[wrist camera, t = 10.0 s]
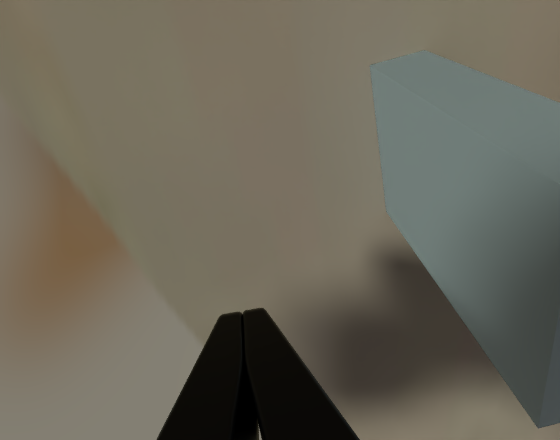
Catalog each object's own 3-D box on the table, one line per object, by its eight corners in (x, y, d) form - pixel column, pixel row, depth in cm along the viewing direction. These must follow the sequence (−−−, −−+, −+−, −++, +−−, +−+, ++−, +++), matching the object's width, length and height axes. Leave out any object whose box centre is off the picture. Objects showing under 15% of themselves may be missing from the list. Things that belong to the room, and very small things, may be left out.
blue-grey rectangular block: (369, 65, 12) (579, 197, 5) (424, 50, 12) (710, 161, 5) (386, 211, 14) (537, 428, 8) (431, 199, 14) (623, 405, 8)
